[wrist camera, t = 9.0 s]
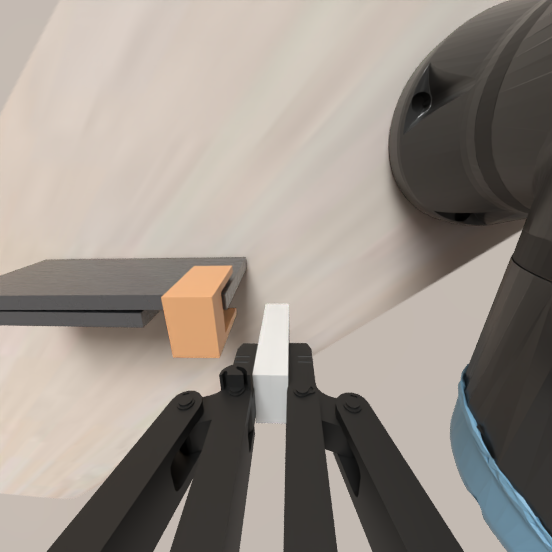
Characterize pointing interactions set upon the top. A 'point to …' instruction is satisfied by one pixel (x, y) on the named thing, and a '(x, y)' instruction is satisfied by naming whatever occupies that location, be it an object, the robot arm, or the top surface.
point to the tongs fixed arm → (105, 283)
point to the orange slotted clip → (198, 313)
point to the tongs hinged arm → (77, 318)
